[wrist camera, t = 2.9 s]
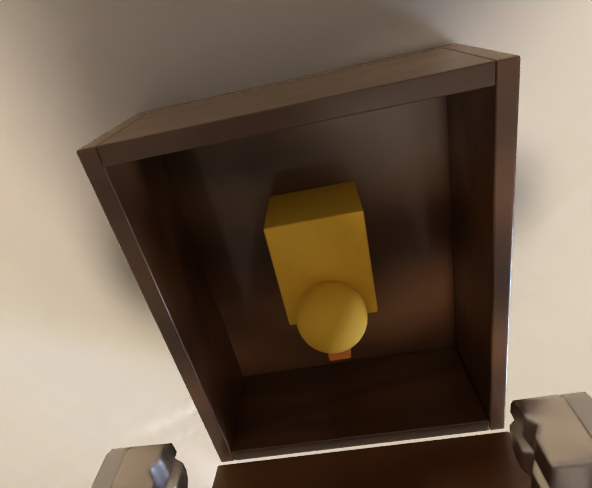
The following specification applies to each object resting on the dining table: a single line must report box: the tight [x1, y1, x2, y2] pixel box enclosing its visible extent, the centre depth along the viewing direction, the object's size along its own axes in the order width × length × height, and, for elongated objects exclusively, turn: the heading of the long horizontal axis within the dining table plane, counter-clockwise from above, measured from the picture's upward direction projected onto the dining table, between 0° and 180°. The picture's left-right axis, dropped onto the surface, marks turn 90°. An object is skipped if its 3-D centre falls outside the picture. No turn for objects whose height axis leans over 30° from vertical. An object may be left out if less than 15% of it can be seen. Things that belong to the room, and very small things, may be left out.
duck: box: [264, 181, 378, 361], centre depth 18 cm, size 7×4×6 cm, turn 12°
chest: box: [77, 44, 520, 462], centre depth 19 cm, size 16×14×6 cm
